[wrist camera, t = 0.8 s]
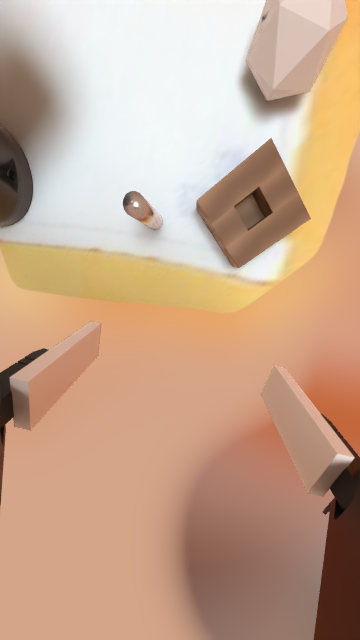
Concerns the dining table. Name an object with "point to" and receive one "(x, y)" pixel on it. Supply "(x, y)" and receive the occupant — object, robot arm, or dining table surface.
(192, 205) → the dining table surface
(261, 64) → the die
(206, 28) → the dining table surface
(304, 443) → the robot arm
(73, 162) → the dining table surface
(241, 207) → the socket block
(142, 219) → the pin
